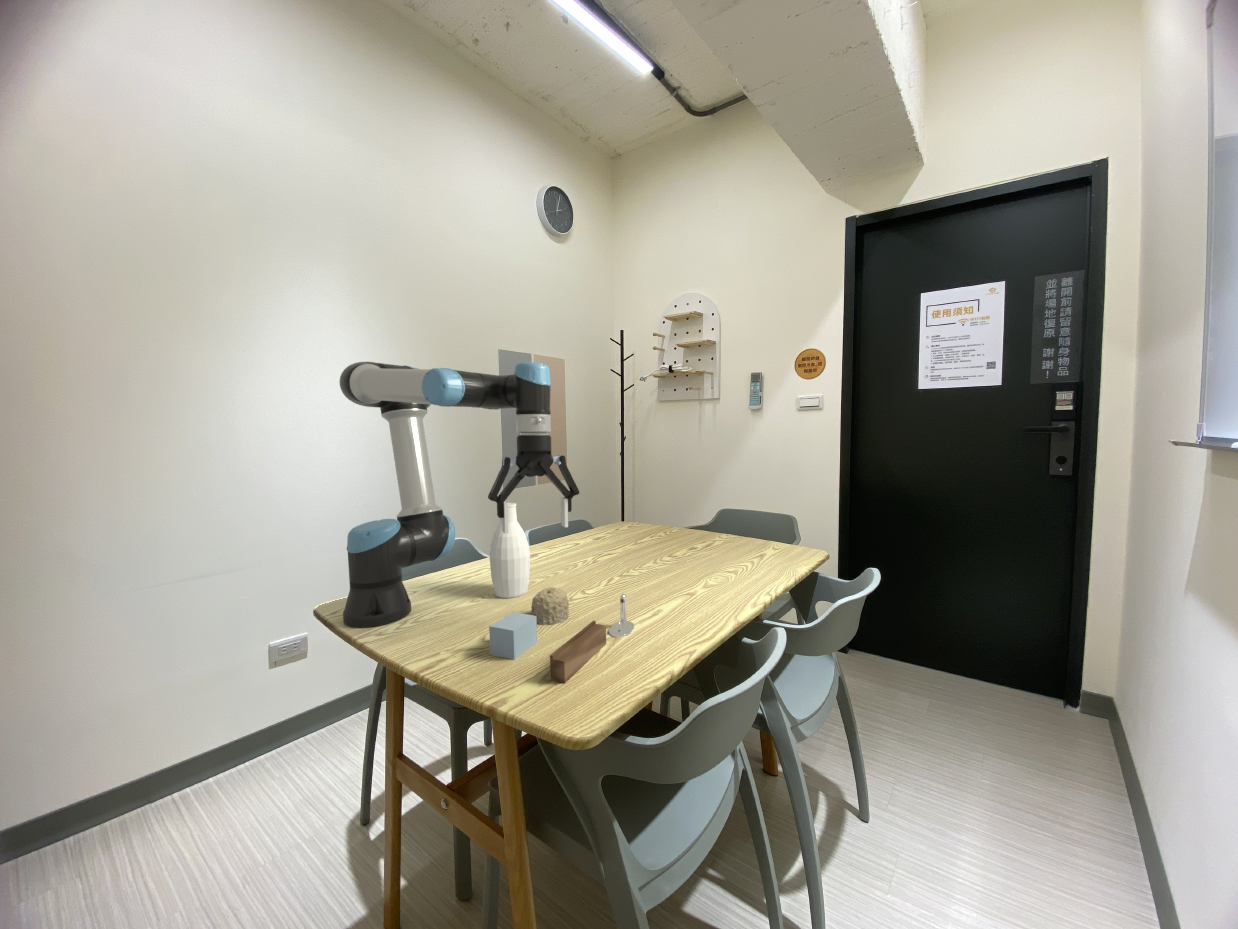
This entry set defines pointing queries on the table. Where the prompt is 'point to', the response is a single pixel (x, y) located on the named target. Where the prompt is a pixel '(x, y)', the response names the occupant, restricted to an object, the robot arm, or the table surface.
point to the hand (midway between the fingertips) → (535, 529)
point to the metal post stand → (622, 621)
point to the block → (513, 635)
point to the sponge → (550, 606)
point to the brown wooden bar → (577, 652)
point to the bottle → (510, 558)
